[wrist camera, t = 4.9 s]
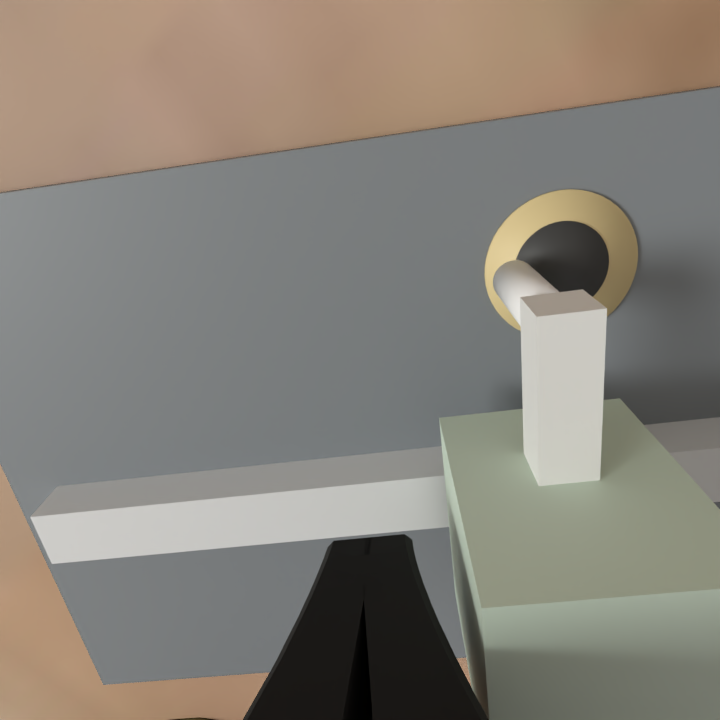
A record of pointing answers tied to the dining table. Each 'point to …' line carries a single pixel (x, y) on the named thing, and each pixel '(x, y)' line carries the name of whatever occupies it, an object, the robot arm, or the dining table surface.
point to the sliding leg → (578, 538)
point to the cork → (195, 719)
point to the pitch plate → (327, 354)
